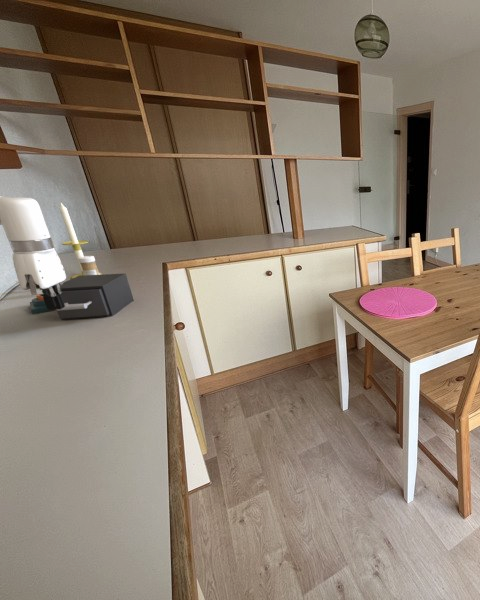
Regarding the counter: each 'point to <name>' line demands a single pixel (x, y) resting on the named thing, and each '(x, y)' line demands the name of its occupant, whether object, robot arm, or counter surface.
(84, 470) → the counter surface
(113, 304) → the dark grey drawer box
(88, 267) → the sprinkles bottle
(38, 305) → the block
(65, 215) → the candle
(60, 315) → the dark grey drawer
